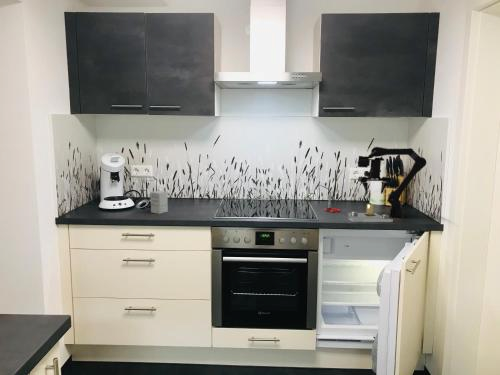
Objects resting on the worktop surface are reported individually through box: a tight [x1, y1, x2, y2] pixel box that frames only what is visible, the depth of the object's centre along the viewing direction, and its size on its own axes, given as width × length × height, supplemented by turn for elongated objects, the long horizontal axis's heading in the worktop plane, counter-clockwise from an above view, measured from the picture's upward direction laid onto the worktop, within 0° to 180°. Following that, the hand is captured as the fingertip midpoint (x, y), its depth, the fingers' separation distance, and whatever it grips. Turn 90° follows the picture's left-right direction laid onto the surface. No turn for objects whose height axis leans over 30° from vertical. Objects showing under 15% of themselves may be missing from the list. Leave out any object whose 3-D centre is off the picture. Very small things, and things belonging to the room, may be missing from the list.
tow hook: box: [324, 190, 341, 213], centre depth 255 cm, size 8×13×9 cm
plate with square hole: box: [347, 211, 394, 223], centre depth 232 cm, size 23×10×4 cm, turn 92°
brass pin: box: [365, 203, 375, 216], centre depth 231 cm, size 4×4×9 cm
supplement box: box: [150, 190, 169, 215], centre depth 246 cm, size 7×7×13 cm
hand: (374, 193), depth 244 cm, fingers open, 9 cm apart
